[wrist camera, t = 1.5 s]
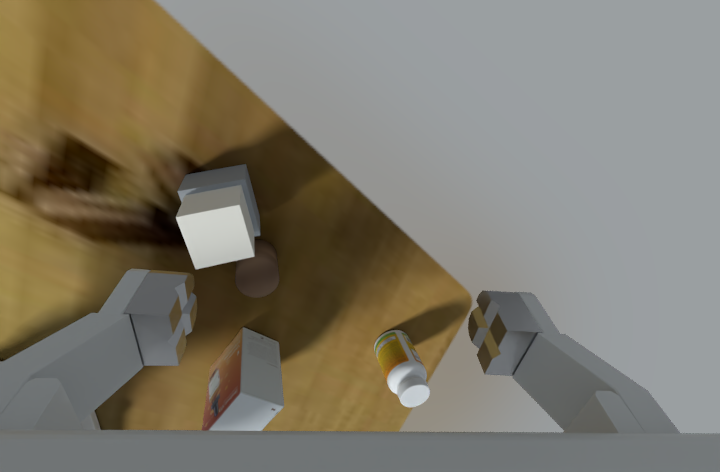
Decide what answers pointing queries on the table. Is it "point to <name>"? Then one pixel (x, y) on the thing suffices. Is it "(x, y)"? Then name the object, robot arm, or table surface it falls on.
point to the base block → (223, 180)
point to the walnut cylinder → (258, 271)
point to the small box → (244, 385)
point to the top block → (216, 226)
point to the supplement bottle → (402, 368)
